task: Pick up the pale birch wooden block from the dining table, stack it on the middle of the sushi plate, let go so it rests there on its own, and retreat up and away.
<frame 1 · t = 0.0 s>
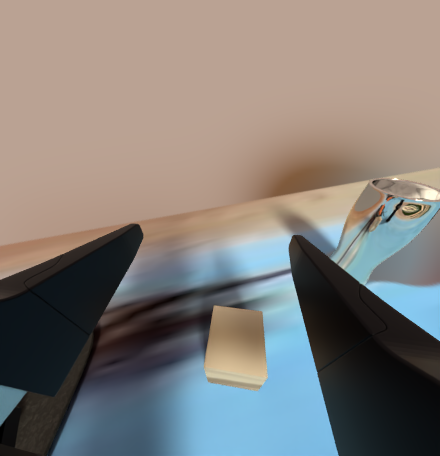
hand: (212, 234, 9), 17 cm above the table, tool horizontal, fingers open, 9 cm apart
birch block: (233, 356, 18), on the table
beer glass: (343, 271, 27), on the table
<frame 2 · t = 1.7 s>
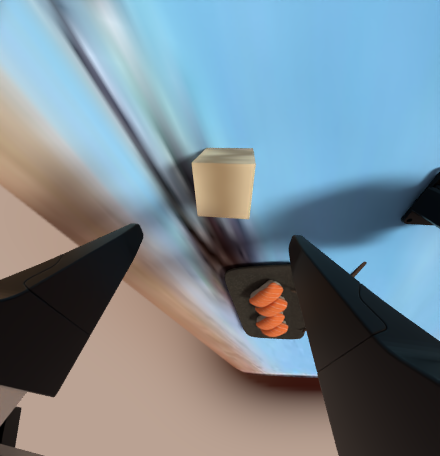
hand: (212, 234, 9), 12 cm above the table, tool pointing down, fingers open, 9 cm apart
sushi plate: (306, 301, 33), on the table
birch block: (229, 171, 18), on the table
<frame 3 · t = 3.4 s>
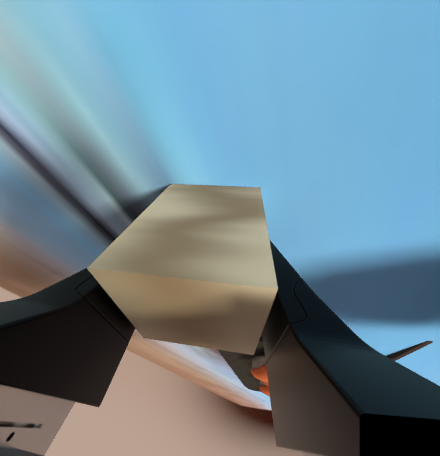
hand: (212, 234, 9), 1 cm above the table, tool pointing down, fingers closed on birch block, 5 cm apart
sushi plate: (326, 364, 25), on the table
birch block: (215, 222, 10), on the table, touching gripper
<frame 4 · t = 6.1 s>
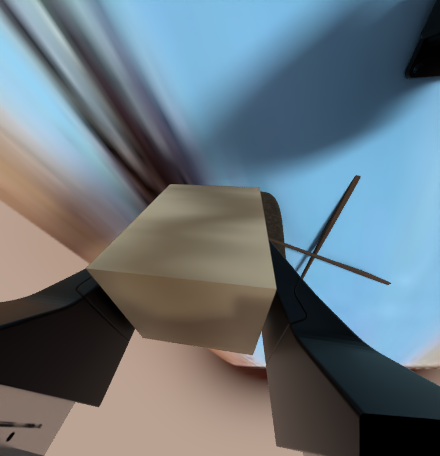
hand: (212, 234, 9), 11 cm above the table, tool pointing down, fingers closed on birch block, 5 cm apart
sushi plate: (287, 261, 26), on the table
birch block: (214, 222, 10), point 10 cm above the table, touching gripper
when the fingers open (6 cm above the table, at t = 8.8 s): birch block drops 4 cm, resting on sushi plate.
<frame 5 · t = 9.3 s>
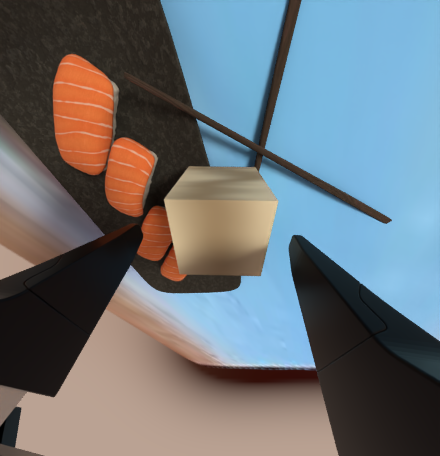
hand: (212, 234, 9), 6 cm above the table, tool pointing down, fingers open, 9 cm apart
sushi plate: (225, 186, 15), on the table, touching birch block
birch block: (221, 197, 13), point 1 cm above the table, tilted 7°, touching sushi plate
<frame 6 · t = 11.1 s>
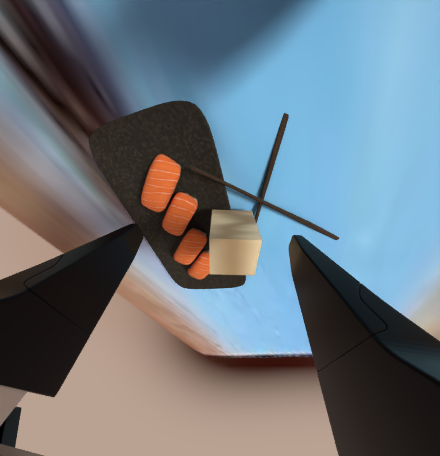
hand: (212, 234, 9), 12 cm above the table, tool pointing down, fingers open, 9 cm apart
sushi plate: (237, 216, 23), on the table, touching birch block
birch block: (230, 226, 21), point 2 cm above the table, tilted 7°, touching sushi plate
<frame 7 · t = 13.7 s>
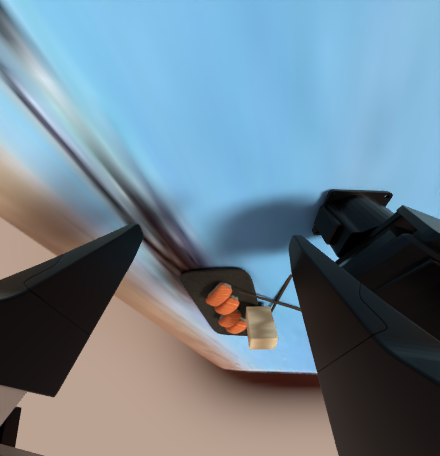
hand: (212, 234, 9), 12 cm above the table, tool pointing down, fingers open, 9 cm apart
sushi plate: (261, 301, 37), on the table, touching birch block
birch block: (257, 312, 35), point 2 cm above the table, tilted 8°, touching sushi plate
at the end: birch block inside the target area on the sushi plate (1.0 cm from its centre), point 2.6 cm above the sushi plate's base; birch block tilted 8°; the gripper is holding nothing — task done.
